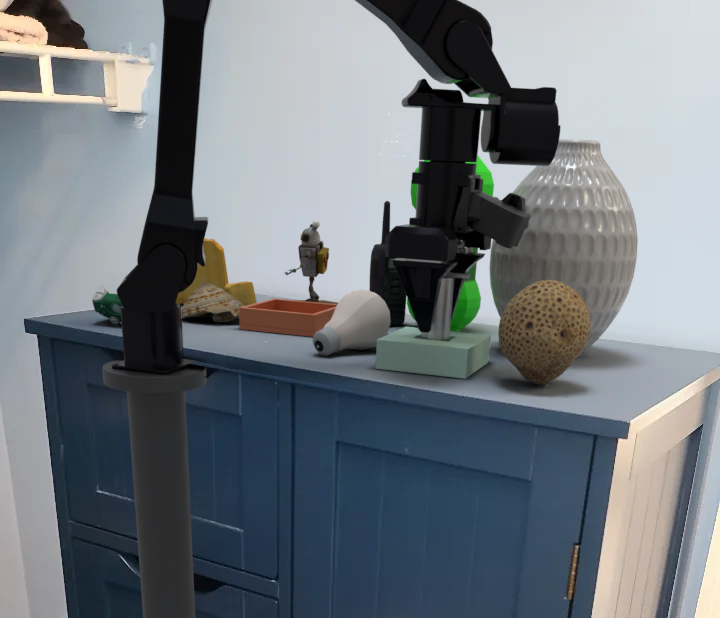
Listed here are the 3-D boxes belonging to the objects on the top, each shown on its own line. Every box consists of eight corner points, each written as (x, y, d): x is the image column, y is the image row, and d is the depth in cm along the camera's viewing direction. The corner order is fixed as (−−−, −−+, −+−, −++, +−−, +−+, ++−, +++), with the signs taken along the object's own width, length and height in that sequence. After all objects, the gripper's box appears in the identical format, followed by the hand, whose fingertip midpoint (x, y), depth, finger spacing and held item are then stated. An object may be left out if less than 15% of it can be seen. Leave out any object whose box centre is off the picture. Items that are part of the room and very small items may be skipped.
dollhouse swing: (259, 304, 138) (258, 236, 134) (225, 312, 130) (223, 240, 126) (198, 298, 142) (195, 231, 138) (161, 305, 134) (157, 234, 130)
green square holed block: (465, 379, 97) (468, 348, 95) (375, 368, 100) (376, 339, 98) (488, 362, 105) (490, 334, 104) (404, 353, 108) (405, 326, 106)
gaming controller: (104, 334, 121) (80, 304, 116) (114, 309, 122) (91, 278, 117) (166, 342, 118) (144, 311, 113) (176, 316, 119) (155, 284, 114)
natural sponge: (570, 399, 90) (586, 288, 86) (480, 388, 93) (491, 280, 88) (588, 382, 98) (603, 279, 93) (505, 372, 101) (515, 272, 96)
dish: (314, 337, 115) (314, 314, 114) (239, 329, 118) (238, 307, 117) (344, 325, 124) (345, 304, 123) (274, 318, 127) (274, 298, 126)
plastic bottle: (495, 330, 125) (517, 114, 114) (449, 339, 118) (467, 109, 106) (434, 321, 131) (449, 114, 119) (386, 328, 123) (397, 108, 112)
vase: (646, 356, 112) (682, 144, 102) (570, 372, 102) (601, 138, 92) (534, 336, 122) (556, 141, 112) (453, 349, 112) (470, 135, 101)
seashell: (223, 309, 118) (177, 277, 120) (211, 350, 121) (166, 318, 123) (263, 302, 124) (219, 272, 126) (251, 341, 127) (208, 311, 129)
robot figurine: (292, 304, 139) (293, 215, 134) (354, 309, 138) (357, 219, 132) (271, 315, 130) (271, 219, 124) (337, 319, 128) (340, 223, 123)
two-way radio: (378, 328, 123) (384, 201, 117) (357, 323, 126) (361, 199, 120) (410, 325, 127) (417, 201, 120) (389, 320, 130) (395, 199, 123)
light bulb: (306, 376, 108) (367, 338, 114) (348, 374, 103) (408, 335, 109) (287, 319, 104) (351, 283, 110) (329, 315, 100) (393, 278, 106)
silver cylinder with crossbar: (458, 371, 100) (466, 271, 96) (400, 365, 102) (406, 266, 97) (465, 366, 103) (474, 269, 98) (409, 360, 104) (415, 264, 100)
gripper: (507, 165, 83) (489, 348, 90) (546, 166, 99) (528, 322, 106) (387, 159, 86) (379, 336, 93) (443, 162, 102) (432, 313, 109)
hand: (435, 326), depth 100 cm, fingers open, 8 cm apart
